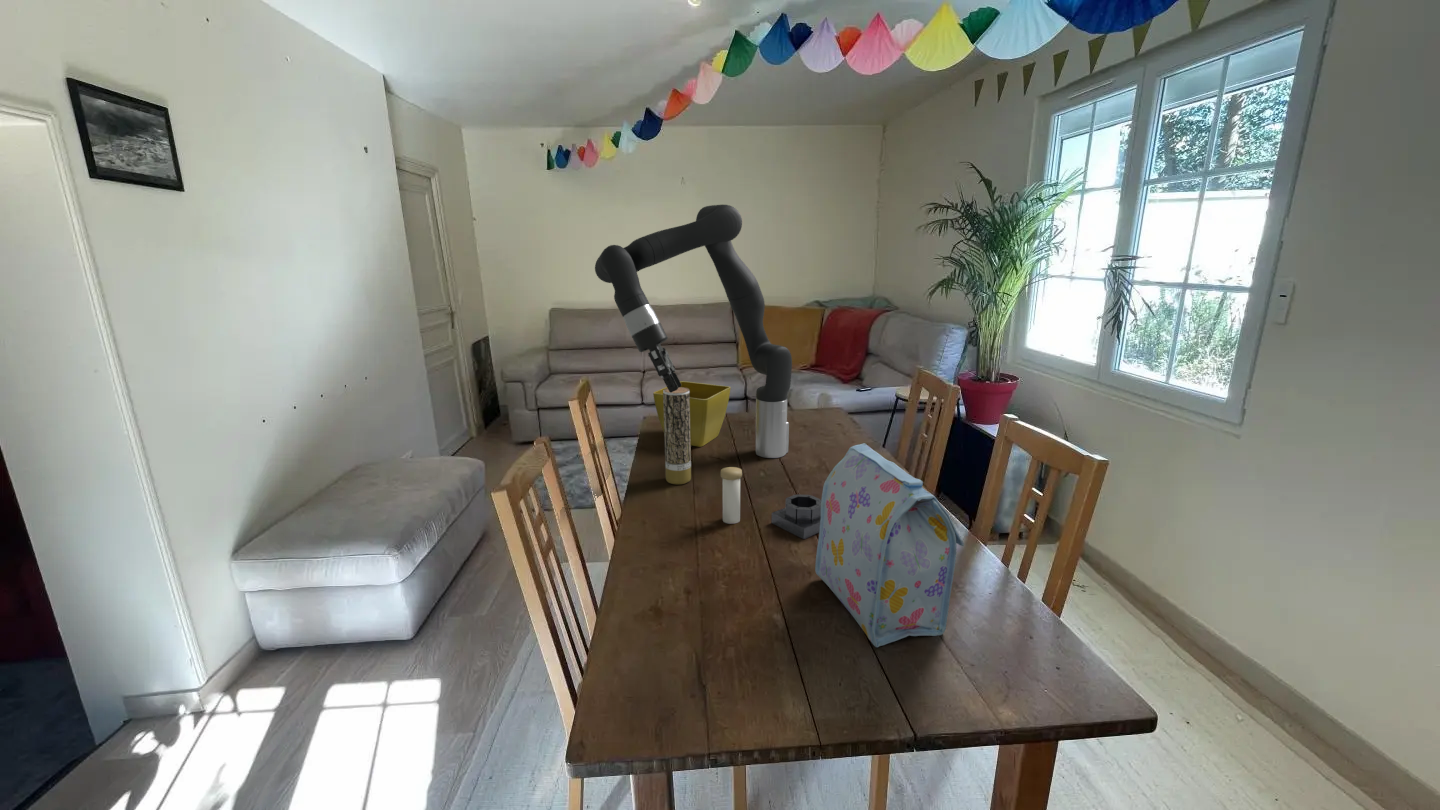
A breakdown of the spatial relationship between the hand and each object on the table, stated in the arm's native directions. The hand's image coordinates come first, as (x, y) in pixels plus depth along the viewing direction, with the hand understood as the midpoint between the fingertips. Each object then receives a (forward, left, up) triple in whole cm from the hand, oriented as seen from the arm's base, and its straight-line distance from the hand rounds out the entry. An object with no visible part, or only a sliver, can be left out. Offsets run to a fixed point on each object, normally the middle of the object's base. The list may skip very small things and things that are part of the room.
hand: (676, 389), depth 139 cm
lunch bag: (-1, +60, -28) cm, 66 cm away
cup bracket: (-13, +30, -28) cm, 43 cm away
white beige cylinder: (-2, +18, -28) cm, 33 cm away
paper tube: (-6, -9, -28) cm, 30 cm away
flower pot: (-30, -35, -28) cm, 54 cm away
